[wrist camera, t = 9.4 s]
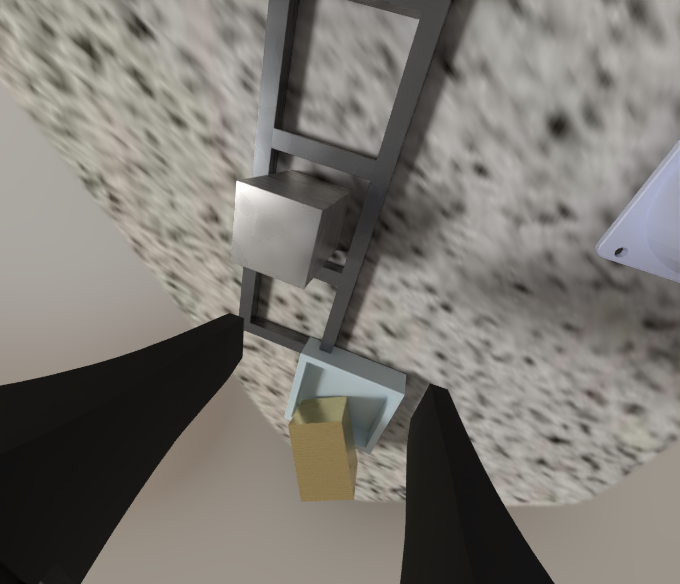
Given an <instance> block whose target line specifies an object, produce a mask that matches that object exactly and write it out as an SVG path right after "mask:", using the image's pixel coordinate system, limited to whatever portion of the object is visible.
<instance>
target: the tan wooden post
mask: <svg viewBox="0 0 680 584" xmlns="http://www.w3.org/2000/svg"><path fill="white" fill-rule="evenodd" d="M288 426H289V432H290V438H291V444H292V450H293V456H294V461H295V467H296V473H297V479H298V485H299V490H300V496H301V501H321V500H323V501H325V500H352V499H354V493H355V483H356V473H357V463H358V461H357V455H356V449H355V442H354V436H353V429H352V423H351V417H350V410H349V404H348V397H347V396H340V397H329V398H318V399H307V400H302V402H301V403H300V405H299V407H298V409H297V411H296V412H295V414H294V416H293V418H292V419H291V421H290V423H289V425H288Z"/></svg>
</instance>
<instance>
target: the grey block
mask: <svg viewBox="0 0 680 584" xmlns="http://www.w3.org/2000/svg"><path fill="white" fill-rule="evenodd" d="M351 195H352V190H349V189H346V188H343V187H340V186H337V185H334V184H331V183H329V182H326V181H323V180H320V179H317V178H314V177H311V176H308V175H305V174H302V173H299V172H296V171H293V170H289V171H284V172H279V173H274V174H269V175H263V176H258V177H253V178H248V179H243V180H238V181H237V185H236V199H235V212H234V226H233V240H232V254H231V262H233V263H236V264H239V265H241V266H244V267H246V268H249V269H252V270H254V271H257V272H260V273H262V274H265V275H268V276H270V277H273V278H275V279H278V280H281V281H283V282H286V283H289V284H291V285H294V286H297V287H299V288H302V289H304V288H305V287H306V286H307V285H308V284H309V282H310V281H311V280H312V279H313V277H314V276H315V275H316V274H317V273H318V271H319V270H320V269H321V268H322V267H323V265H324V264H325V263H326V262H327V260H328V259H329V258H330V257H331V256H332V254H333V253H334V252H335V251H336V248H337V244H338V241H339V237H340V234H341V230H342V227H343V223H344V220H345V216H346V212H347V209H348V205H349V202H350V198H351Z"/></svg>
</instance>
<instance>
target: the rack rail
mask: <svg viewBox="0 0 680 584" xmlns="http://www.w3.org/2000/svg"><path fill="white" fill-rule="evenodd" d="M350 1H353V2H357V3H361V4H364V5H368V6H372V7H375V8H379V9H383V10H387V11H390V12H394V13H398V14H401V15H405V16H409V17H412V18H416V19H420V20H419V24H418V27H417V30H416V34H415V37H414V40H413V43H412V47H411V50H410V53H409V56H408V60H407V63H406V66H405V70H404V73H403V76H402V79H401V83H400V86H399V89H398V93H397V96H396V99H395V102H394V106H393V109H392V112H391V115H390V119H389V122H388V125H387V129H386V132H385V135H384V138H383V142H382V145H381V148H380V151H379V155H378V158H377V160H376V159H373V158H370V157H367V156H364V155H360V154H357V153H354V152H351V151H348V150H345V149H342V148H339V147H336V146H333V145H329V144H326V143H323V142H320V141H317V140H314V139H311V138H308V137H305V136H302V135H299V134H295V133H292V132H289V131H286V130H283V129H282V121H283V114H284V107H285V99H286V92H287V85H288V77H289V70H290V62H291V55H292V48H293V40H294V33H295V25H296V18H297V11H298V3H299V0H269V4H268V15H267V25H266V36H265V46H264V57H263V67H262V78H261V88H260V99H259V109H258V120H257V130H256V141H255V151H254V162H253V172H252V178H253V177H258V176H263V175H269V174H274V173H276V166H277V158H278V151H282V152H285V153H289V154H292V155H295V156H298V157H301V158H304V159H307V160H310V161H313V162H316V163H319V164H322V165H325V166H328V167H331V168H334V169H337V170H340V171H343V172H346V173H349V174H352V175H355V176H358V177H361V178H364V179H367V180H370V184H369V188H368V191H367V194H366V197H365V201H364V204H363V207H362V210H361V214H360V217H359V220H358V224H357V227H356V230H355V233H354V237H353V240H352V243H351V246H350V250H349V253H348V256H347V260H346V263H345V266H344V267H341V266H338V265H335V264H333V263H330V262H326V263H325V264H324V265H323V267H322V268H321V269H320V270H319V271H318V273H317V274H316V275H315V276H314V278H316V279H319V280H322V281H324V282H327V283H330V284H332V285H335V286H338V289H337V292H336V296H335V299H334V302H333V305H332V309H331V312H330V315H329V319H328V322H327V325H326V328H325V332H324V335H323V338H322V341H321V345H320V348H319V350H322V351H324V352H327V353H330V354H331V353H332V351H333V348H334V346H335V343H336V340H337V337H338V334H339V331H340V328H341V325H342V323H343V320H344V317H345V314H346V311H347V308H348V305H349V302H350V299H351V296H352V293H353V290H354V287H355V284H356V282H357V279H358V276H359V273H360V270H361V267H362V264H363V261H364V258H365V255H366V252H367V249H368V246H369V243H370V240H371V238H372V235H373V232H374V229H375V226H376V223H377V220H378V217H379V214H380V211H381V208H382V205H383V202H384V199H385V197H386V194H387V191H388V188H389V185H390V182H391V179H392V176H393V173H394V170H395V167H396V164H397V161H398V158H399V155H400V153H401V150H402V147H403V144H404V141H405V138H406V135H407V132H408V129H409V126H410V123H411V120H412V117H413V114H414V112H415V109H416V106H417V103H418V100H419V97H420V94H421V91H422V88H423V85H424V82H425V79H426V76H427V73H428V70H429V68H430V65H431V62H432V59H433V56H434V53H435V50H436V47H437V44H438V41H439V38H440V35H441V32H442V29H443V27H444V24H445V21H446V18H447V15H448V12H449V9H450V6H451V3H452V0H350ZM261 277H262V273H260V272H257V271H254V270H252V269H249V268H246V267H243V278H242V288H241V299H240V309H239V317H242V318H244V330H245V331H247V332H250V333H252V334H255V335H257V336H260V337H262V338H264V339H267V340H269V341H272V342H274V343H277V344H279V345H282V346H284V347H287V348H289V349H292V350H294V351H297V352H299V353H301V352H302V350H303V349H304V347H305V345H306V344H307V342H308V340H309V338H310V337H307V336H305V335H302V334H300V333H297V332H295V331H292V330H290V329H287V328H284V327H282V326H279V325H277V324H274V323H272V322H269V321H267V320H264V319H262V318H259V317H257V316H256V314H257V306H258V299H259V291H260V284H261Z"/></svg>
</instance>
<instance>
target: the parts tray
mask: <svg viewBox="0 0 680 584" xmlns="http://www.w3.org/2000/svg"><path fill="white" fill-rule="evenodd" d="M320 345H321V341H320V340H317V339H315V338H312V337H310V338H309V340H308V342H307V344H306V345H305V347H304V349H303V350H302V352H301V355H300V359H299V362H298V366H297V370H296V374H295V378H294V382H293V385H292V389H291V393H290V397H289V401H288V404H287V408H286V412H285V416H284V418H285V419H288V420H290V421H291V419H292V418H293V416H294V414H295V412H296V411H297V409H298V407H299V405H300V403H301V402H302V400H307V399H318V398H329V397H340V396H347V397H348V404H349V410H350V417H351V423H352V429H353V436H354V442H355V448H356V449H358V450H360V451H363V452H365V453H367V454H370V453H371V451H372V450H373V448H374V446H375V445H376V443H377V441H378V440H379V438H380V436H381V434H382V433H383V431H384V429H385V428H386V426H387V424H388V423H389V421H390V419H391V417H392V416H393V414H394V412H395V411H396V409H397V407H398V406H399V404H400V402H401V400H402V399H403V397H404V395H405V386H406V374H404V373H401V372H399V371H396V370H394V369H391V368H389V367H386V366H383V365H381V364H378V363H376V362H373V361H371V360H368V359H366V358H363V357H361V356H358V355H356V354H353V353H350V352H348V351H345V350H343V349H340V348H338V347H335V346H334V348H333V351H332V353H331V354H330V353H327V352H324V351H322V350H319V348H320Z"/></svg>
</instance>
